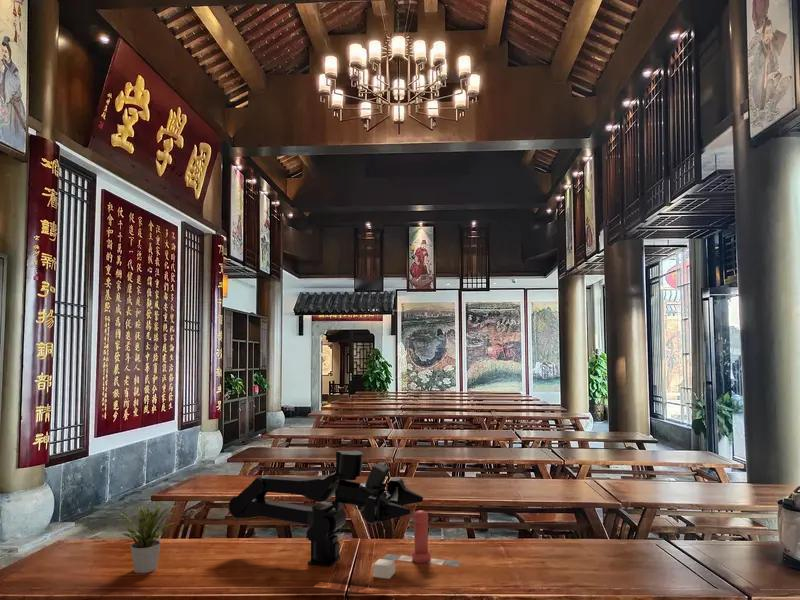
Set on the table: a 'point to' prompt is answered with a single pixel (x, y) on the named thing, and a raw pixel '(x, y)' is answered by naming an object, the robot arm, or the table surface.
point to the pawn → (421, 538)
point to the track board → (432, 561)
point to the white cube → (384, 568)
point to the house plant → (146, 539)
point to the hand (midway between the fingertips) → (416, 505)
